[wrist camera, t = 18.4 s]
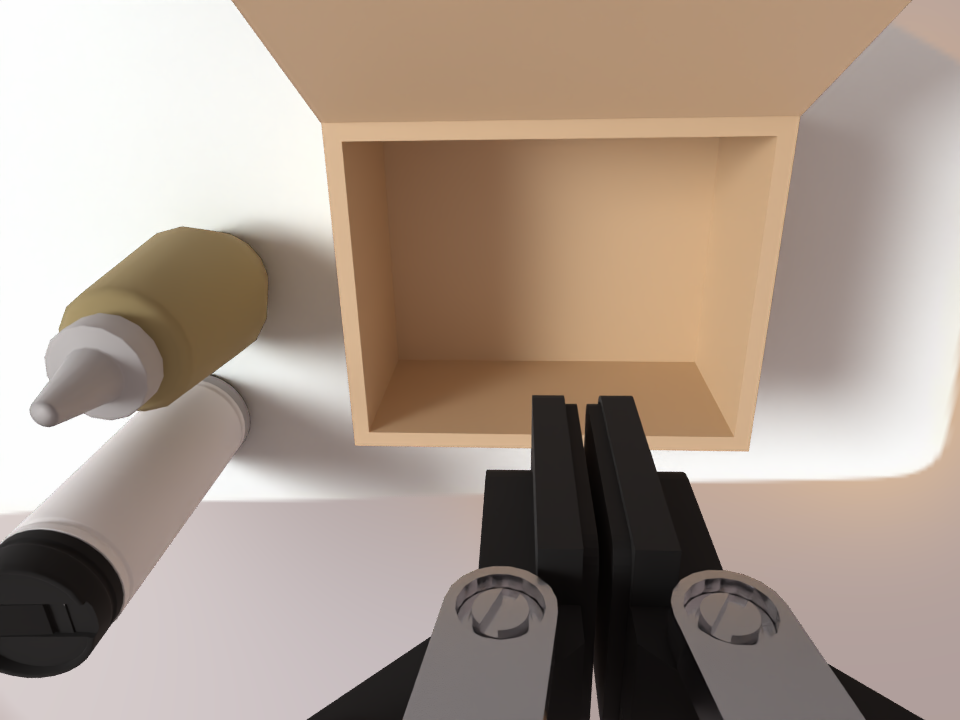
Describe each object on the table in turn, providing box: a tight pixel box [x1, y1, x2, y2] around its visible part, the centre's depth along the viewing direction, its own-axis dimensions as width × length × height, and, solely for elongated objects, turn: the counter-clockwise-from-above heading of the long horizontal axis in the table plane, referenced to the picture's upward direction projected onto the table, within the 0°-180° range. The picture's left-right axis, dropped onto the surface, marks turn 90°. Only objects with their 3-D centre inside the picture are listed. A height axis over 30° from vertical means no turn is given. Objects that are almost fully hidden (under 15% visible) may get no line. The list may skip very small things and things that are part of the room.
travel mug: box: [0, 375, 250, 678], centre depth 39 cm, size 6×7×20 cm
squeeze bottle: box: [30, 227, 268, 427], centre depth 36 cm, size 8×8×18 cm
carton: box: [321, 116, 800, 451], centre depth 38 cm, size 16×20×10 cm
